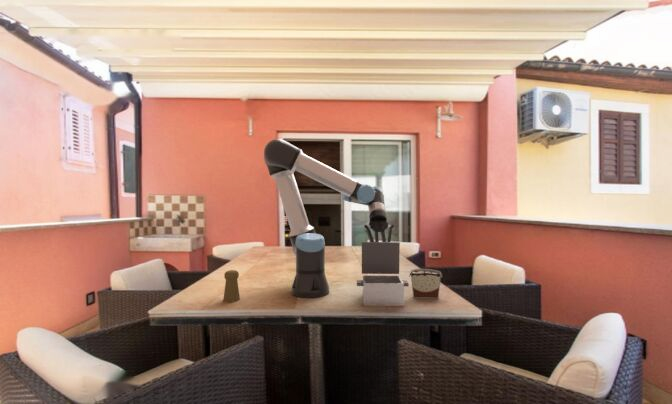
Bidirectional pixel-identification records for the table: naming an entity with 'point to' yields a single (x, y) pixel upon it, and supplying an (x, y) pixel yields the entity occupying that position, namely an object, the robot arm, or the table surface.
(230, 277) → the cork
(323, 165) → the robot arm
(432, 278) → the food container
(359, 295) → the table surface
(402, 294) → the rectangular cooking pot
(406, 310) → the table surface
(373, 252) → the pot lid
